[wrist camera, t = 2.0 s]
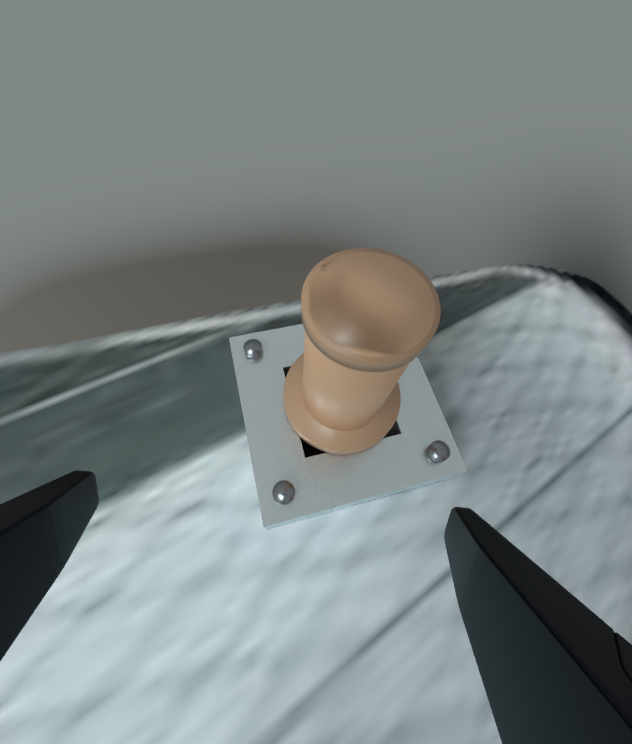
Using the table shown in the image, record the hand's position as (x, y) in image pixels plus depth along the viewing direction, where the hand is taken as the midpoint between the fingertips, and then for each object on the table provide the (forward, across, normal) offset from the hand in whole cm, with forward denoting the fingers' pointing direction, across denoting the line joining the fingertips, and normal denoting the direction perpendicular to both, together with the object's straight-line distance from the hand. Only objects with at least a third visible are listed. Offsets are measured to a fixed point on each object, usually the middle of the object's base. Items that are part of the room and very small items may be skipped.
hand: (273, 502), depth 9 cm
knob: (+15, -2, +5) cm, 16 cm away
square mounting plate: (+15, -2, +5) cm, 16 cm away
